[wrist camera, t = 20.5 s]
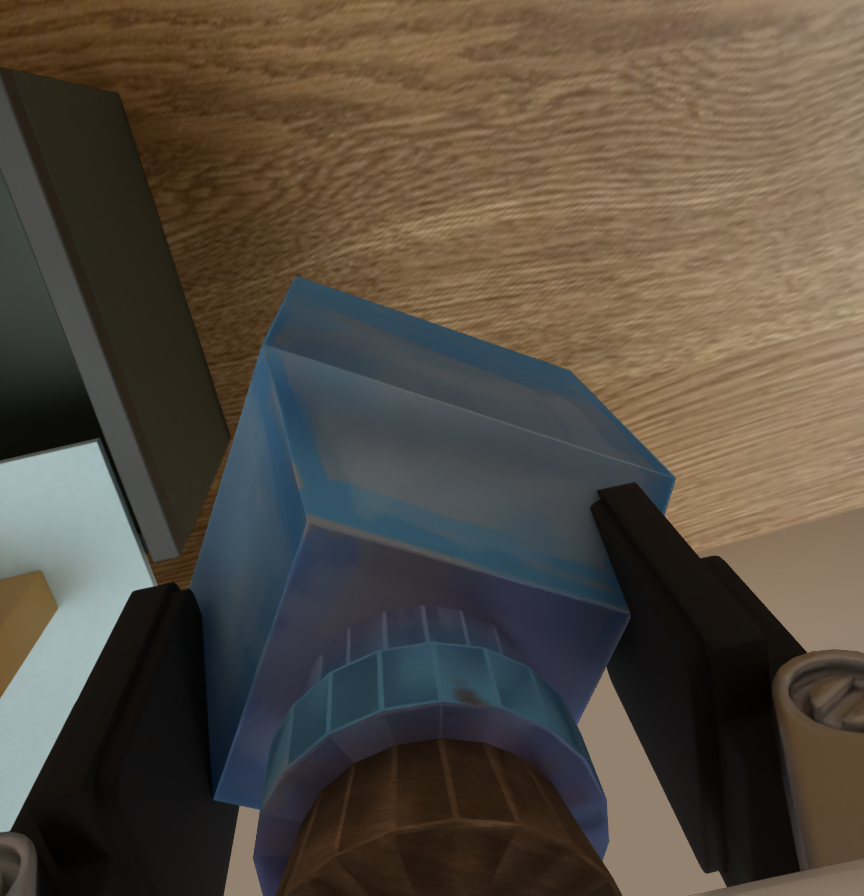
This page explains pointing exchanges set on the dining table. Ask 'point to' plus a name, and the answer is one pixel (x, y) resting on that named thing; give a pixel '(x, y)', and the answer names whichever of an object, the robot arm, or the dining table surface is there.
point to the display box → (98, 309)
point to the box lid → (56, 597)
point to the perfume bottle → (412, 609)
